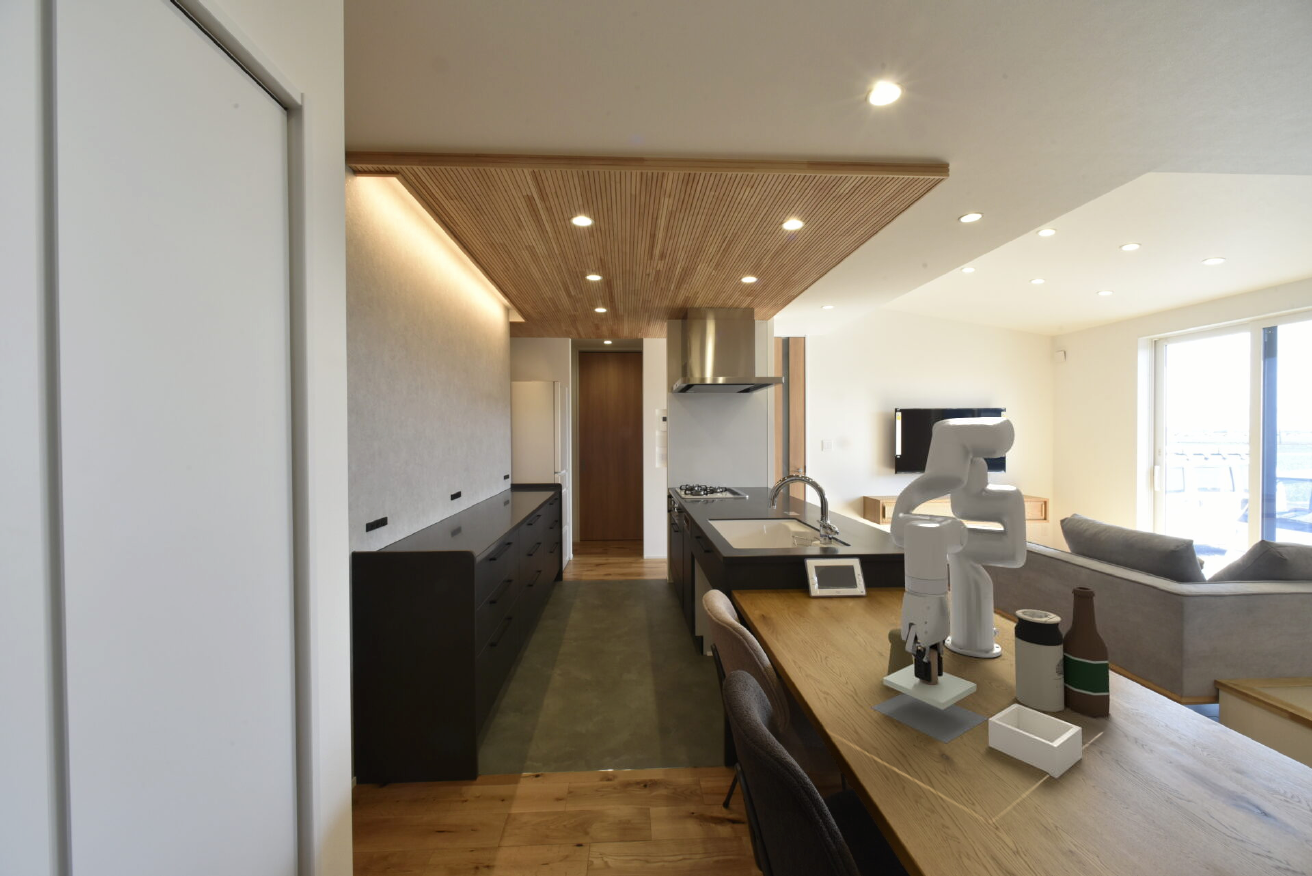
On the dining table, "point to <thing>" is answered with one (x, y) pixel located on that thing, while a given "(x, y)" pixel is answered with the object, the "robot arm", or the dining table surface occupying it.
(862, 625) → the dining table surface
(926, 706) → the mat
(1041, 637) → the travel mug
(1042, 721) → the white open storage bin
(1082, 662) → the beer bottle
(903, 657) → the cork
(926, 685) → the lid
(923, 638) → the robot arm
